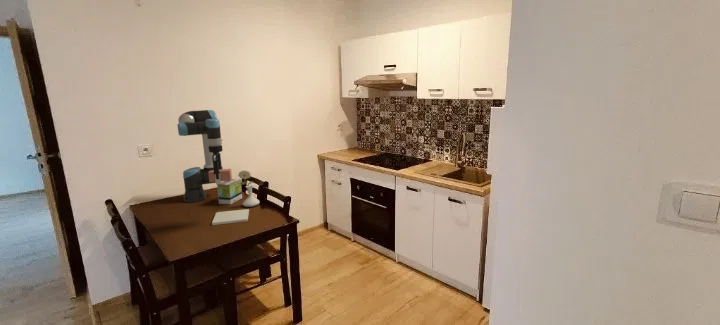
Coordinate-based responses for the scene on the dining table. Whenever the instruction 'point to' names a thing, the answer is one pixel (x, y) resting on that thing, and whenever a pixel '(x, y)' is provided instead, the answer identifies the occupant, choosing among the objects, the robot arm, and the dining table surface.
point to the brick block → (221, 175)
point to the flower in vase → (250, 200)
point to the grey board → (231, 217)
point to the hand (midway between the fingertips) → (219, 182)
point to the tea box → (229, 191)
